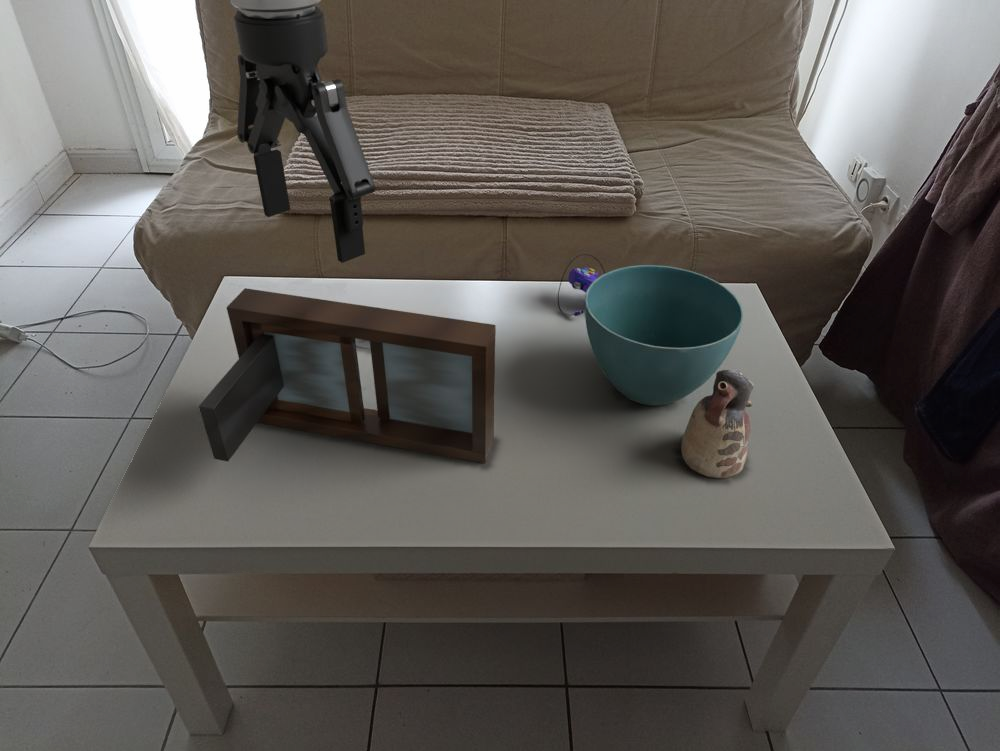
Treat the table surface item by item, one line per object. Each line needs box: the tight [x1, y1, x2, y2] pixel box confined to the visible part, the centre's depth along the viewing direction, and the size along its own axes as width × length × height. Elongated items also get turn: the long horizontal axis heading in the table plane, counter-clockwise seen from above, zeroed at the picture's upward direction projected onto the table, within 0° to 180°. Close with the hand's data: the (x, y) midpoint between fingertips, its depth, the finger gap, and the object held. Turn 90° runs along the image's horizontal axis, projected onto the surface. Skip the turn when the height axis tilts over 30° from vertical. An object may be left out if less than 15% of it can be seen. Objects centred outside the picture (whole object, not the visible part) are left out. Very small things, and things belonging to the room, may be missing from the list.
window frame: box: [226, 287, 497, 464], centre depth 82 cm, size 28×4×16 cm, turn 77°
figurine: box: [680, 369, 755, 479], centre depth 81 cm, size 7×7×12 cm
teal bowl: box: [584, 264, 744, 407], centre depth 91 cm, size 18×18×12 cm
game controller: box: [557, 253, 606, 317], centre depth 108 cm, size 10×8×10 cm
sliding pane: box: [198, 322, 365, 462], centre depth 78 cm, size 12×13×12 cm
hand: (312, 234), depth 77 cm, fingers open, 13 cm apart
